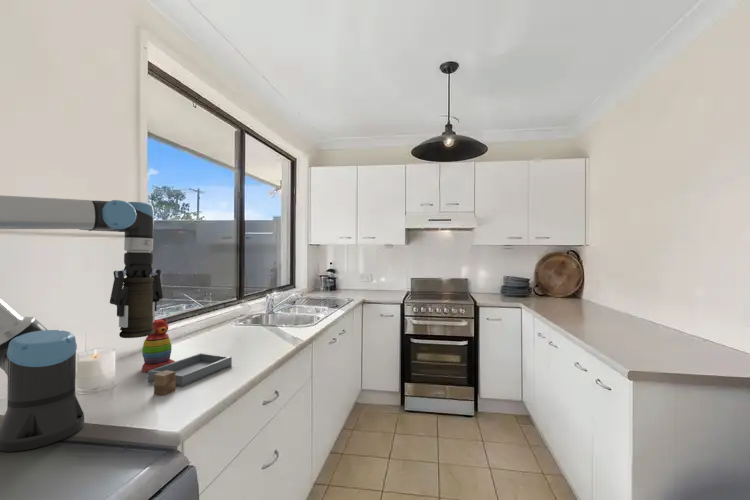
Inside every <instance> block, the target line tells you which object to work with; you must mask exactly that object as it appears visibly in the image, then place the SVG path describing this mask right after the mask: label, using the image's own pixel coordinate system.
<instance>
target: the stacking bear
mask: <svg viewBox="0 0 750 500" xmlns="http://www.w3.org/2000/svg"><path fill="white" fill-rule="evenodd" d="M153 324H154V327H153V329H154V330H155V332H154V334H152V335H149V336H146V337H145V339H144V341H143V344H142V349H141V351H142V352H141V353H142V357H143V362H144V363H143V364H142V367H141V371H142V372H143V373H147V374H148V371H149V370H152V369H155V368H158V367H161V366H164V365H167V364H170V363H173V362H176V361H175V360H173V359H171V354H172V347H173V346H172V341H171V338H170V336H169V334H167V333H168V330H169V324H168V322H167V320H166V318H162V319H155V322H153Z"/></svg>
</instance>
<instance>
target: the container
mask: <svg viewBox="0 0 750 500" xmlns="http://www.w3.org/2000/svg"><path fill="white" fill-rule="evenodd" d="M152 281H154V278H153V277H151V276H150V277H148V278H126V277H124V282H123V286H129V287H130V289H129V297H128V300H127V302H126V304H125V305H127V306H128V327H126V328H124V327H119V331H120V332H119V334H118V335H119V337H120V338H121V339H135V338H144V337H145V338H146V337H147V336H149V335H152V334H154V332H155V330H154V329H153V327H154V324H153V289H152V285H153V283H152Z"/></svg>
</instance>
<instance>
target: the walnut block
mask: <svg viewBox="0 0 750 500" xmlns="http://www.w3.org/2000/svg"><path fill="white" fill-rule="evenodd" d="M174 392H176V386H175V372H174V371H167V370H165V371H162V372H160V373H157V374H154V382H153V395H156V396H162V397H164V396H166V395H169V394H172V393H174Z"/></svg>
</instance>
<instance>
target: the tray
mask: <svg viewBox="0 0 750 500" xmlns="http://www.w3.org/2000/svg"><path fill="white" fill-rule="evenodd" d="M232 359H233V358H232V356H227V355H220V354H211V353H202V352H200V353H196V354H194V355H191V356H189V357H184V358H182V359H180V360H176V361H175V362H173V363H170V364H167V365H164V366H161V367H158V368H155V369H152V370H149V371H148V373H147V382H148V383H149V382H150V383H154V374H157V373H160V372H162V371H165V370H167V371H174V372H175V387H179V388H184V387H186V386H188V385H191V384H194V383H195V382H198V381H200V380H202V379H206V378H208V377H210V376H212V375H214V374H216V373H219V372H221V371H223V370H226V369H228V368H231V367H232V363H233V361H232Z"/></svg>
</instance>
